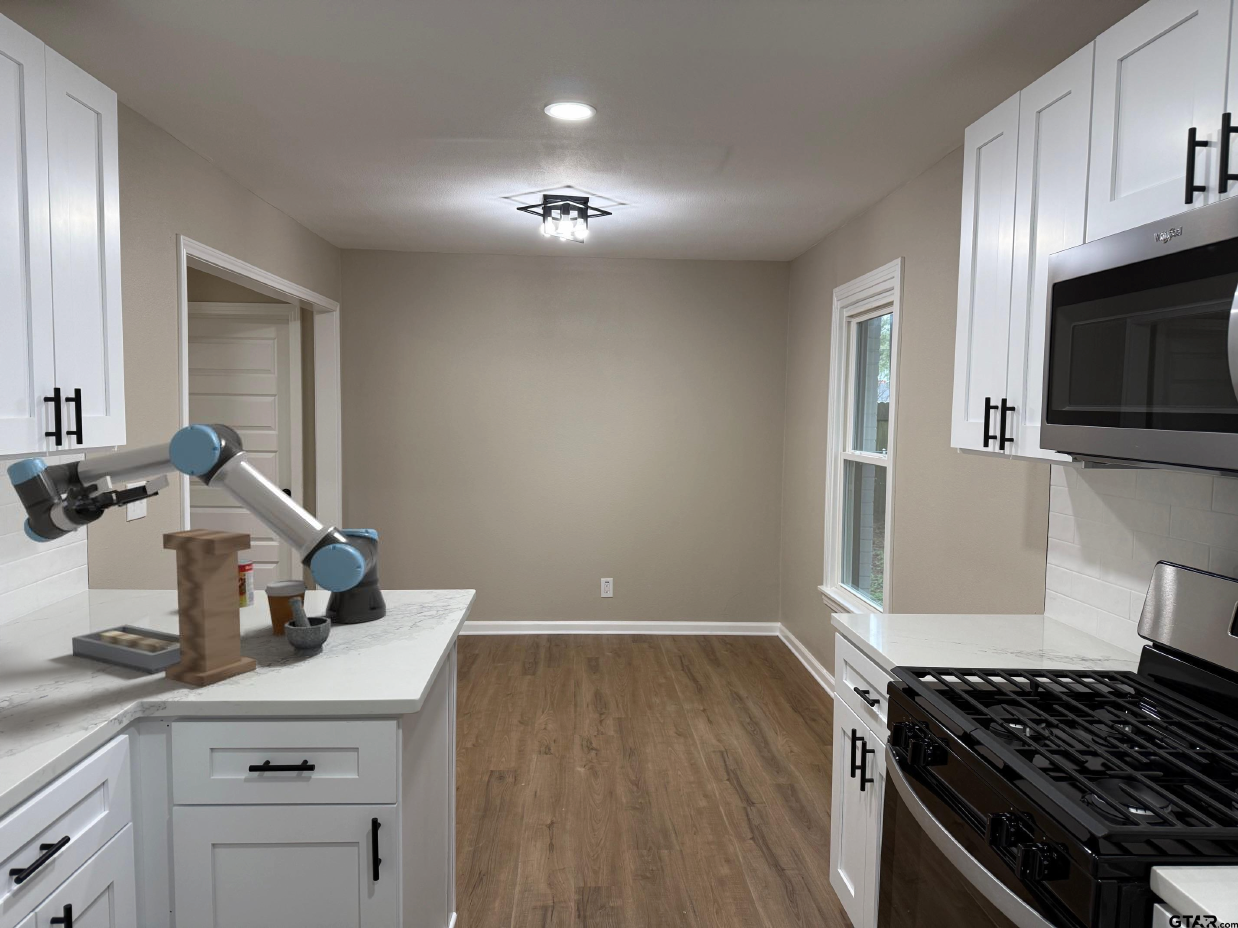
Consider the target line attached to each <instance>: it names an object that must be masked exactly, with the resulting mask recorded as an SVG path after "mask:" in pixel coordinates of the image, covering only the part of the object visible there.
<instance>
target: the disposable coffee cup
mask: <svg viewBox="0 0 1238 928" xmlns="http://www.w3.org/2000/svg"><path fill="white" fill-rule="evenodd" d="M306 584H307V583H306V582H305V580H302V579H284V580H283V579H282V580H276V581H271V582H269V583H267V584H266V588H265V589H264V592H265V594H266V596H267V602H268V608H269V615H270V621H271V625H272V631H273V634H274V635H276V636H285V623H286V622H288V621H291V620H294V617H293V612H292V608H291V605H290V604H289V602H288V601H289V600H290V599H292V598H295V597H300V598H301V600H302V601H301V603H302V606H303V608H304V607H305V599H306V598H305V597H306V592H307V589H308V585H306ZM304 609H305V608H304Z"/></svg>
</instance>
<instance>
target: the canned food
mask: <svg viewBox="0 0 1238 928" xmlns="http://www.w3.org/2000/svg"><path fill="white" fill-rule="evenodd" d="M253 566H254V564H253V560H252V559H247V558H246V559H244V558H242V559H240V558H238V579H239V609H240V608H246V607H250V606H252V605H254V604H255V599H254V598H255V597H254V595H255V594H254V567H253Z"/></svg>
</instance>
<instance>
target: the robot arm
mask: <svg viewBox="0 0 1238 928" xmlns="http://www.w3.org/2000/svg"><path fill="white" fill-rule="evenodd" d="M32 458H33V457H32ZM6 472H7V475H8V477H9V480H10V483H11V485H12V487H13V488H14V491H15V492H16V494H17V496H18V498H19V500H20V502H21V504H22V506H23V507H24V510H25V513H26V514H27V518H26V519H25V520H24V523H23V531H24V533H25V535H26V536H27V537H28V538H29V539H30V540H32V541H34V542H36V543H48V542H52V541H54V540H57V539H60V538H63V537H64V536H66V535H68V534H70V533H71V532H77V531H78V529H80V528H82V527H84V526H86V525H88V524H91V523H93V522H95V521H97V520H99V519H100V518H102V516H103V515H104V513H105V511H106V510H108V509H110V508H113V507H117V508H122V507H124V506H127V505H129V504H132V503H136V502H139V501H143V500H145V499H149V498H152V497H156V496H159V495H160V493H159V491H161V490H164V489H165V488H167V487H169V486H170V483H169V479H168V473H170V474H171V473H174V472H180V473H182V474H184V475H187V476H189V477H196V478H197V479H198V480H199V481H201V482H202V483H203V484H204V485H206V486H207V487H208V488H209V489H221V490H222V491H223V492H225V493H226V494H227V495H228V496H229V497H231V498H232V499H233V500H234V501H236V502H237V503H238V504H239V505H240V506H241V507H243V508H244V509H245V510H246V511H247V512H249V513H250V514H251V515H252V516H254V517H255V518H256V519H257V520H259V521H260V522H261V523H262V524H264V525H265V526H266V527H267V528H268V529H269V530H271V532H273V533H274V534H275V535H276V536H278V537H279V538H280V539H282V540H283V541H284V542H285V543H286V544H288V546H290V547H291V548H292V549H294V550H295V551H296V552H297V553H298V555H299V563H300V564H301V565H303V566H304V567H305V568H306V569H308V570H309V571H310V576H311V578H312V580H313V581H314V583H315V584H316V585H317V586H319V587H320V588H322V589H323V590H326V591H328V592H330V594H329V597H328V600H327V603H326V604H327V605H326V607H325V618H328V619H330V621H331V623H338V624H339V623H340V624H354V623H355V624H356V623H365V622H371V621H374V620H377V619H381V618H383V617H384V616H386V615H387V605H386V602H385V599H384V596H383V593H382V591H381V588H380V579H379V541H380V540H379V537H378V531H376V529H372V528H363V529H362V528H360V529H359V528H356V529H355V528H351V529H343V528H342V529H339V528H338V527H336V525H330V526H327V525H324V524H323V523H322V522H320V521H319V520H318V519H317V518H316V517H315V516H313V515H312V514H311V513H309V511H307V510H306V509H305V508H304V507H302V506H301V505H300V504H298V502H297V501H295V500H294V499H293V498H292V497H291V496H290V495H288V494H287V493H286V492H285V491H283V490H282V489H281V488H279V487H278V486H277V485H276V484H275V483H273V481H271V480H270V479H269V478H268V477H266V476H265V475H264V474H263V473H261V472H260V471H259V470H258V469H257V468H255V467H254V466H253V465H252V464H251V463H249V462H248V453H247V452H246V451H245V450H244V446H243V441H242V437H241V436H240V435H239V433H238V432H237V431H236V430H235V429H234V428H232V427H231V426H229V425H226V424H224V423H208V424H204V423H203V424H201V423H194V424H190V425H188V426H185V427H183V428H180V429H179V430H177V432H175V434H174V435H173V436H172V438H171V440H170V441H167V442H163V443H159V444H155V445H154V444H153V445H149V446H144V447H139V448H134V449H129V450H124V451H121V452H120V451H119V452H115V453H110V454H105V455H100V456H96V457H91V458H87V459H81V460H76V461H72V462H66V463H61V464H55V465H54V464H53V465H47V463H46V462H45V460H44V459H43V458H42V457H40V458H33V459H29V458H26V459H25V458H24V459H22V460H20V461H17V462H15V463H12V464H10V465H9V466H8V467H7V469H6ZM155 476H157V477H156V478H155ZM151 477H154V478H153V479H151V480H147V481H146V482H145V483H144V484H143V485H140V486H139V485H138V486H135V487H130V488H127V489H123V490H117V489H113V485H116V484H121V483H122V484H123V483H126V482H131V481H134V480H135V481H136V480H139V479H145V478H151ZM111 489H113V490H111ZM63 495H66V496H65V497H64V498H63V497H62V496H63ZM114 497H115V498H114Z"/></svg>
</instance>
